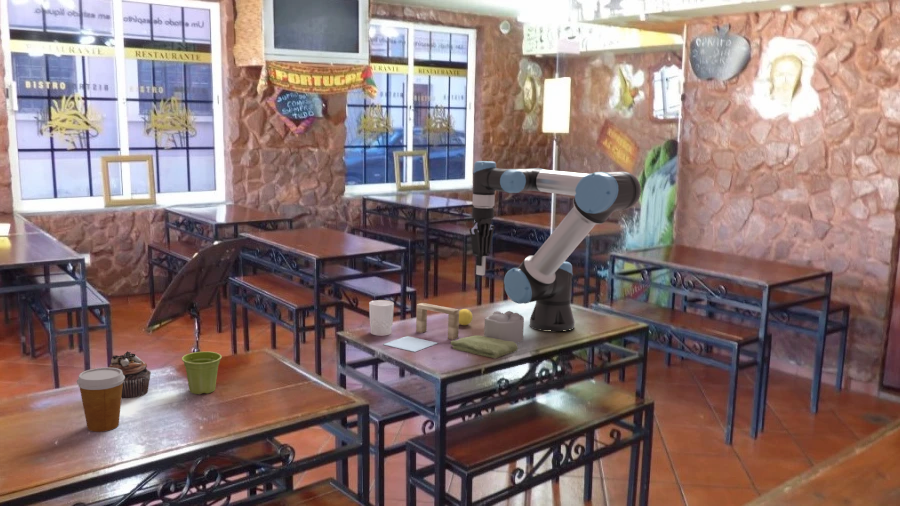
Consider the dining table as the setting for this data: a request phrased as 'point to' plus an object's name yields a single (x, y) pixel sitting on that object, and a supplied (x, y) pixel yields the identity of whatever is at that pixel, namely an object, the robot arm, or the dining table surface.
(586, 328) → the dining table surface
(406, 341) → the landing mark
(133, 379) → the cupcake
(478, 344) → the washcloth
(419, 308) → the bridge
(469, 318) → the ball
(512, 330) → the grey filled box
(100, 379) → the disposable coffee cup
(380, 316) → the white cup
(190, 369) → the plant pot
